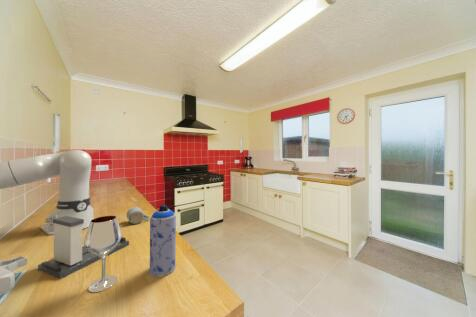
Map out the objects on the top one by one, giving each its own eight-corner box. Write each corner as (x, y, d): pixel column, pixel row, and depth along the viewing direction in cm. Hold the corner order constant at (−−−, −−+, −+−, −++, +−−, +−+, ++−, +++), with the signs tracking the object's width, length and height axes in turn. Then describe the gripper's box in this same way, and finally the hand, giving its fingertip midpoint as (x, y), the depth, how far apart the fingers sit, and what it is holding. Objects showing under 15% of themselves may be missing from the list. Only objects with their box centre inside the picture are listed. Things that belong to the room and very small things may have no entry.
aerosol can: (150, 264, 56) (150, 203, 56) (175, 259, 59) (176, 201, 59) (147, 280, 49) (147, 210, 49) (176, 273, 52) (176, 207, 52)
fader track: (37, 269, 53) (37, 261, 53) (108, 239, 73) (108, 234, 73) (60, 279, 49) (60, 270, 49) (129, 244, 69) (129, 238, 69)
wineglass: (98, 274, 51) (99, 214, 51) (127, 273, 52) (127, 213, 52) (74, 296, 43) (75, 225, 43) (109, 294, 44) (109, 224, 44)
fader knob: (52, 259, 55) (52, 219, 55) (66, 254, 59) (66, 215, 59) (70, 266, 52) (70, 223, 52) (83, 260, 55) (83, 219, 55)
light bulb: (128, 226, 88) (129, 211, 88) (126, 221, 94) (126, 207, 94) (151, 221, 95) (151, 207, 95) (147, 217, 101) (147, 204, 101)
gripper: (-97, 299, 37) (6, 263, 50) (-65, 332, 30) (45, 280, 43) (-96, 270, 37) (6, 241, 50) (-65, 297, 30) (45, 255, 43)
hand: (24, 259), depth 47 cm, fingers closed
